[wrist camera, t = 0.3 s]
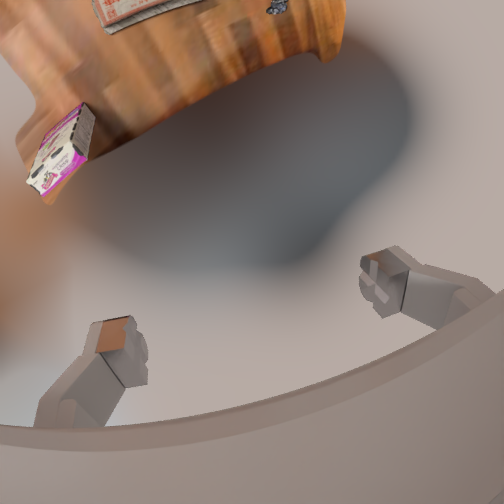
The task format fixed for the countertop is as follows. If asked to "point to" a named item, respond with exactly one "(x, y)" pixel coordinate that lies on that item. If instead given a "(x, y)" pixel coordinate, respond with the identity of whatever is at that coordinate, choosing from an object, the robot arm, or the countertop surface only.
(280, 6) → the blueberries
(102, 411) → the robot arm
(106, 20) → the packaged product
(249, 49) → the countertop surface
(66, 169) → the candy bar box
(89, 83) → the countertop surface
